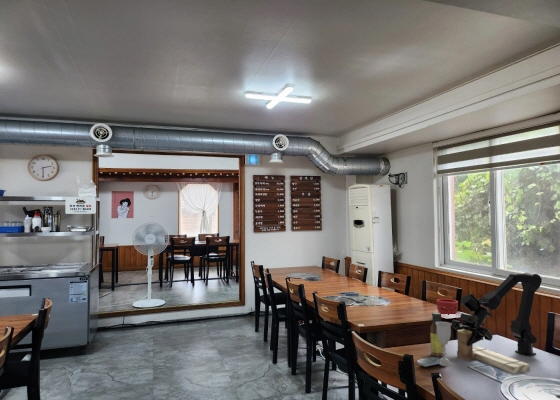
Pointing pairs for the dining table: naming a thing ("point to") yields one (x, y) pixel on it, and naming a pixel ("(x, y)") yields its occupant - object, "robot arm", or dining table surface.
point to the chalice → (444, 339)
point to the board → (500, 360)
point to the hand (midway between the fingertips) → (462, 344)
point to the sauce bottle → (435, 336)
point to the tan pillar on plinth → (464, 345)
